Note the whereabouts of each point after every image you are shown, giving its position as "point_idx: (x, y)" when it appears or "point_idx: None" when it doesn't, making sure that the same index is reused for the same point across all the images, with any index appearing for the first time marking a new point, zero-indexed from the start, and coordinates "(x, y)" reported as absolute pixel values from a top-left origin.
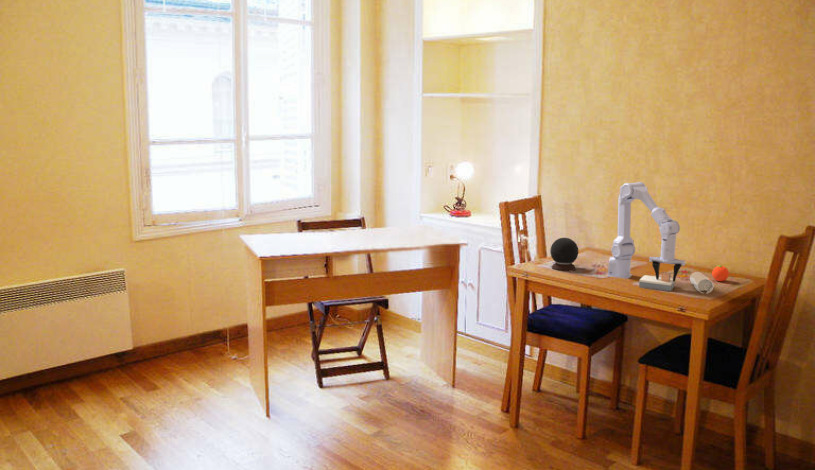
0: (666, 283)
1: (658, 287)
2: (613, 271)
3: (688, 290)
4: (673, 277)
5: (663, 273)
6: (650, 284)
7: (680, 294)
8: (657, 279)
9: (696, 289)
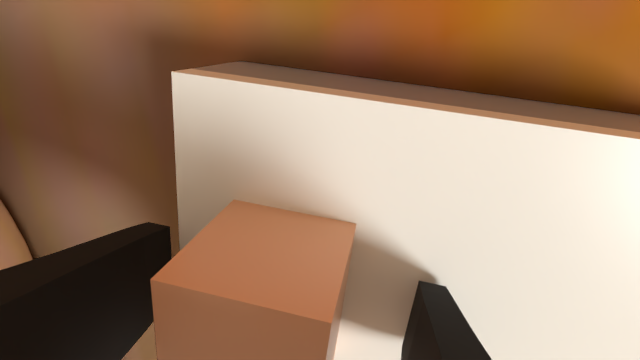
0: (250, 81)
1: (399, 87)
2: None
3: (96, 225)
4: (107, 248)
5: (289, 349)
6: (553, 117)
7: (114, 7)
8: None
9: (3, 211)
